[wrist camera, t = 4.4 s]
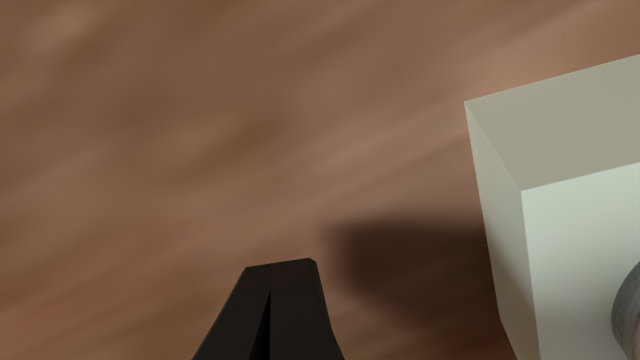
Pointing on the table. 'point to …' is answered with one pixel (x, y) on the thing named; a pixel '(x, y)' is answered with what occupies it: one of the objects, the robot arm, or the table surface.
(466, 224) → the table surface
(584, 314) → the block
